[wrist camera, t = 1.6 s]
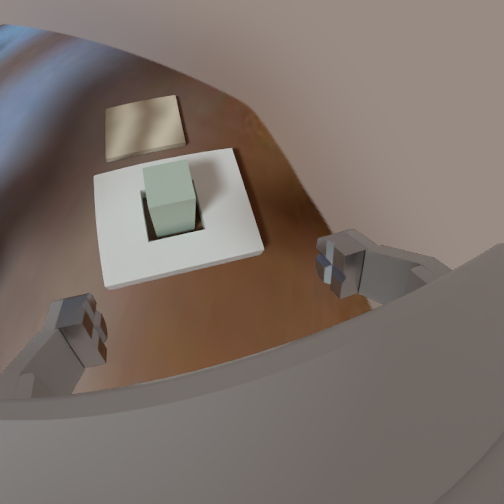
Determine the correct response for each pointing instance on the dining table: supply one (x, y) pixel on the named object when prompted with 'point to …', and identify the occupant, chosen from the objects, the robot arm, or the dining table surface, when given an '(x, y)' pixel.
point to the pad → (143, 128)
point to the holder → (181, 246)
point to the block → (170, 197)
